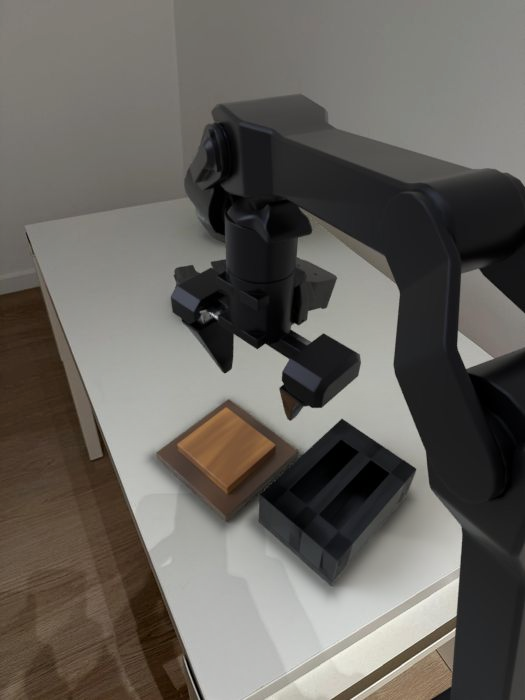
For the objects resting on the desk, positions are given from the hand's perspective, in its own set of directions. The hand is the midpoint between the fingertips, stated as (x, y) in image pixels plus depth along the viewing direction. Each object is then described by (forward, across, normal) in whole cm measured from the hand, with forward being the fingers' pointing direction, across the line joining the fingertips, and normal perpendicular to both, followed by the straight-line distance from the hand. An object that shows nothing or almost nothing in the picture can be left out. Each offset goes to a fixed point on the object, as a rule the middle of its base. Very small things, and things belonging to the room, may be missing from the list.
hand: (258, 393), depth 52 cm
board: (+13, +4, +2) cm, 14 cm away
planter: (+13, +42, -37) cm, 58 cm away
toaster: (+13, -10, -2) cm, 17 cm away
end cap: (+13, +27, -17) cm, 35 cm away
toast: (+11, -1, +2) cm, 11 cm away
